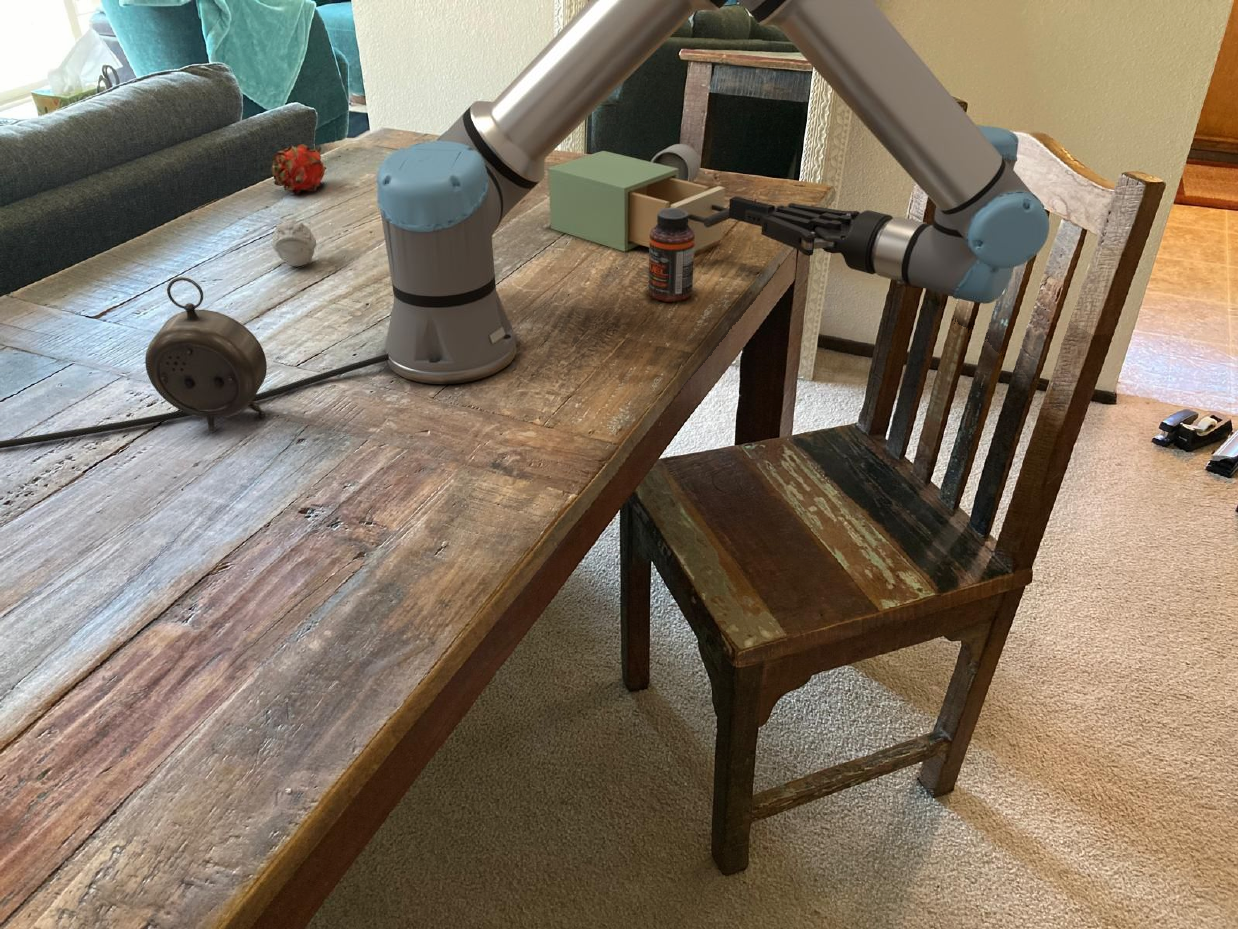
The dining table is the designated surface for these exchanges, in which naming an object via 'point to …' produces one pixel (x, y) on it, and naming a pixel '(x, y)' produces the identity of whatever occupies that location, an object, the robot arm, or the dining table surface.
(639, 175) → the cabinet
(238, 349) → the alarm clock
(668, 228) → the supplement bottle
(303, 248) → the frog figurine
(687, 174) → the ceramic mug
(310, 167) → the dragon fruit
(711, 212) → the drawer
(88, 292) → the dining table surface
